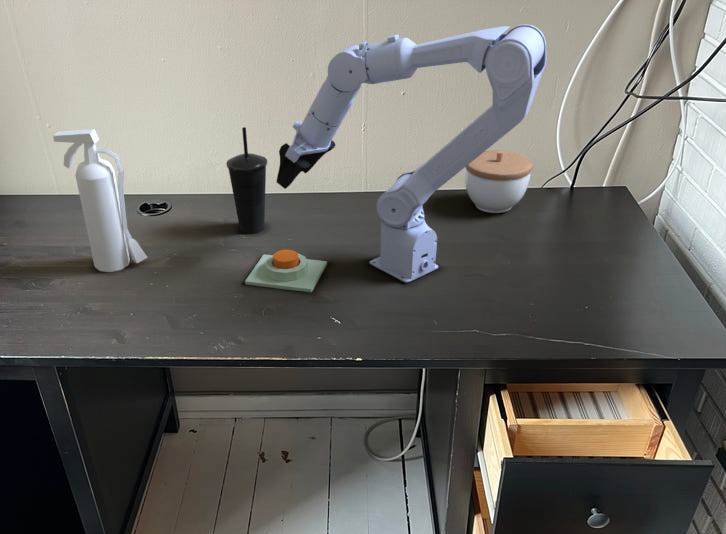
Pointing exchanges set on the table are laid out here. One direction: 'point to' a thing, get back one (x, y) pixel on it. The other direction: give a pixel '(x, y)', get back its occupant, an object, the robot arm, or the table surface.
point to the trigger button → (285, 259)
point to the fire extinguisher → (101, 202)
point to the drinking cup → (248, 188)
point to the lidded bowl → (497, 180)
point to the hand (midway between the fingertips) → (292, 177)
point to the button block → (287, 274)
